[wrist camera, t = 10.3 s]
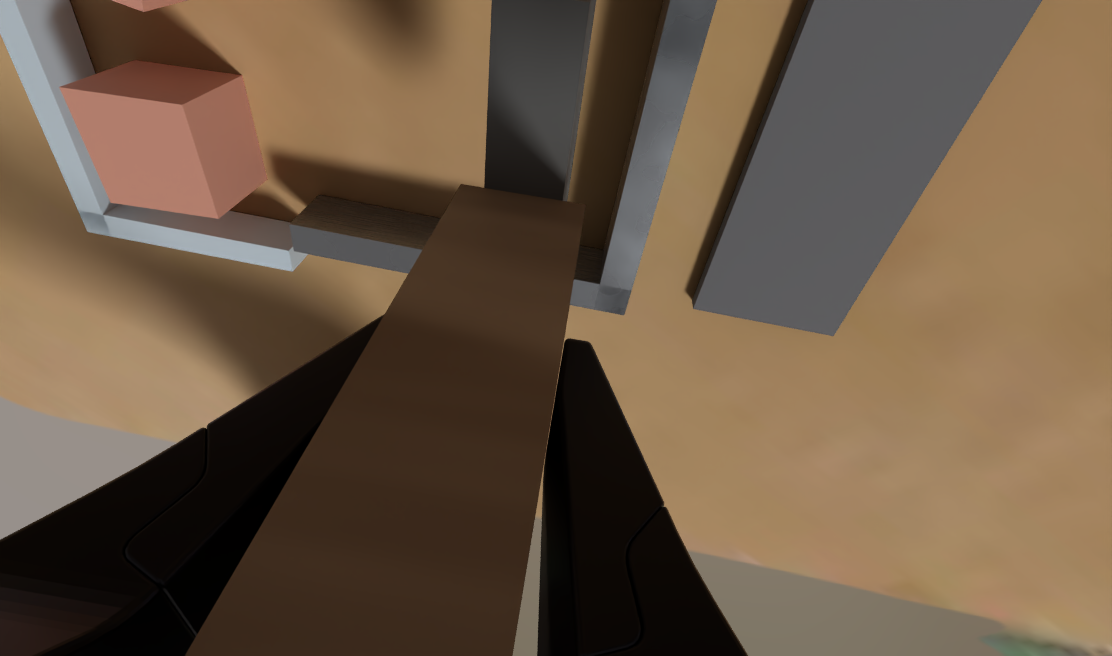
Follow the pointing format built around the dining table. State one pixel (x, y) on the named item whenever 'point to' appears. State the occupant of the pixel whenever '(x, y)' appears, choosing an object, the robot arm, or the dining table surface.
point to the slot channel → (613, 269)
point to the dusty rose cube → (147, 4)
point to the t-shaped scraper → (439, 404)
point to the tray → (45, 65)
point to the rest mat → (850, 150)
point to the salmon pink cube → (169, 136)
